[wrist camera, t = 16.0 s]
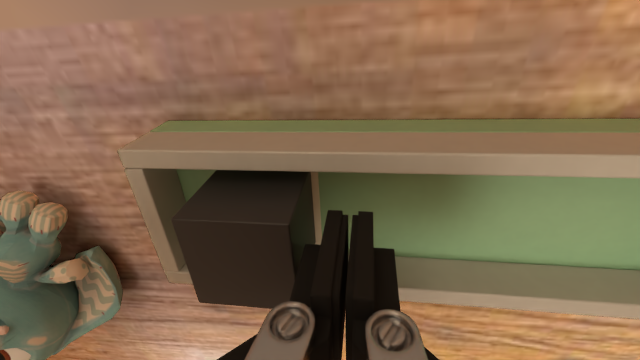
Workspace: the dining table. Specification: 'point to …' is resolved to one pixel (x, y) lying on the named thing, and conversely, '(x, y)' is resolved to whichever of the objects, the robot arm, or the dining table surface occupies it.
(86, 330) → the teal creature figurine
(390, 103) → the dining table surface
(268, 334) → the robot arm
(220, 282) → the dark brown cube
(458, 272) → the green beige rectangular tray
